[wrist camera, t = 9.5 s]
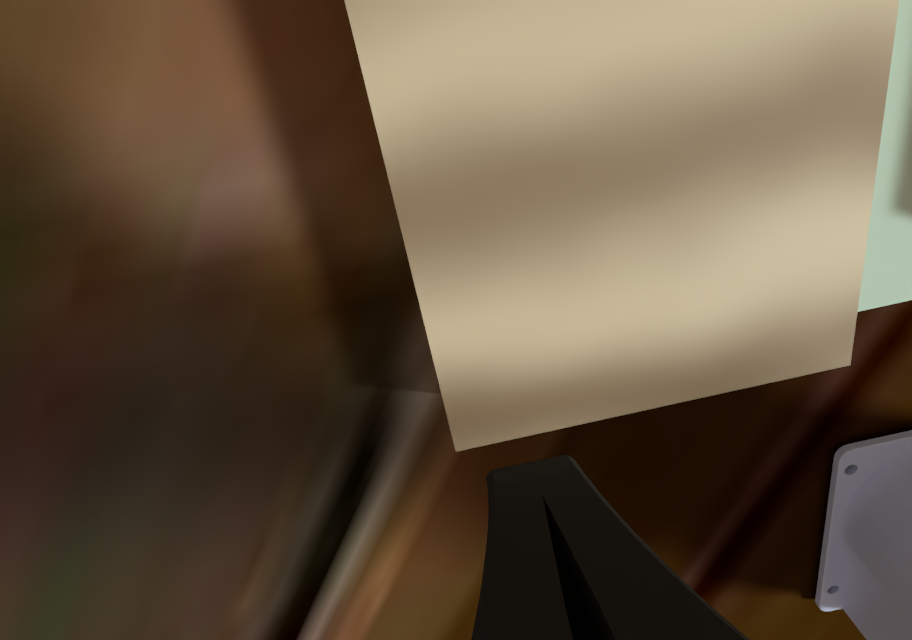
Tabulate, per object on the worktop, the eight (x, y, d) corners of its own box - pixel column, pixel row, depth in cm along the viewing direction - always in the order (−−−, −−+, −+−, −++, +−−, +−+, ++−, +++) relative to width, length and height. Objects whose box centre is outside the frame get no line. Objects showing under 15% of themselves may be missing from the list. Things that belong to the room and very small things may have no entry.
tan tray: (790, 319, 21) (849, 365, 18) (446, 394, 21) (455, 451, 18) (830, -198, 14) (932, -246, 12) (329, -90, 14) (316, -113, 12)
